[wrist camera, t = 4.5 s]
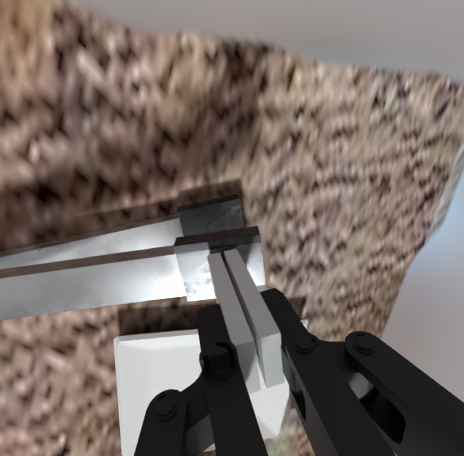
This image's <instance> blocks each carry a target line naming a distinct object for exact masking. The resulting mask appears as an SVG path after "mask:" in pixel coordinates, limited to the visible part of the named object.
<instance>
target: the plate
mask: <svg viewBox="0 0 464 456" xmlns="http://www.w3.org/2000/svg"><path fill="white" fill-rule="evenodd" d="M300 320H301V322H302V323H303V325H304V326H305V328H306V327H307V323H308V321H307V320H306V319H300ZM114 352H115V366H116V379H117V393H118V407H119V421H120V434H121V448H122V456H134V453H135V449H136V445H137V442H138V438H139V435H140V431H141V427H142V424H143V420H144V416H145V413H146V410H147V408H148V405H149V403H150V402H151V401H152V399H153V398H154V397H155V396H156V395H158V394H159V393H161V392H162V391H165V390H169V389H175V390H179V391H180V392H181V391H182V390H184V389H185V388H187V387H188V386H190V385H191V384H192V383H194V382H195V381H196V379H197V378H198V377H199V375H200V373H201V371H202V370H201V366H200V362H199V354H200V352H201V349H200V342H199V335H198V329H197V328H191V329H180V330H169V331H158V332H147V333H135V334H124V335H119V336H117V337H116V338H114ZM257 365H258V363H257ZM258 372H259V379H260V386H261V390H260V391H257V392H254V393H251V394H249V396H250V400H251V403H252V406H253V409H254V412H255V416H256V419H257V422H258V425H259V428H260V431H261V435H262V438H263V440H264V439H268V438H273V437H276V436H277V435H279V432H280V428H281V424H282V420H283V416H284V412H285V409H286V405H287V401H288V397H289V384H288V382H287V380H286V378H285V375H284V380H285V383H282V384H279V385H276V386H272V387H269V388H266V385H265V382H264V379H263V377H262V374H261V371H260V369H259V366H258ZM211 450H215V444H212V445H211V446H210V447H209V448H207V449H206V450H205V451H204V452H206V451H211Z"/></svg>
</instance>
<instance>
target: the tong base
mask: <svg viewBox="0 0 464 456" xmlns="http://www.w3.org/2000/svg"><path fill="white" fill-rule="evenodd" d="M177 211H178V213H176V214H171V215H167V216H162V217H158V218H153V219H148V220H144V221H139V222H134V223H130V224H125V225H121V226H116V227H111V228H107V229H102V230H98V231H93V232H88V233H84V234H79V235H75V236H70V237H65V238H61V239H56V240H52V241H47V242H42V243H38V244H33V245H28V246H24V247H19V248H15V249H10V250H5V251H1V252H0V269H6V268H14V267H21V266H28V265H35V264H42V263H49V262H56V261H64V260H71V259H78V258H85V257H92V256H99V255H107V254H114V253H121V252H128V251H135V250H142V249H149V248H157V247H164V246H171V245H174V243H175V240H176V237H182V236H190V235H197V234H204V233H211V232H218V231H225V230H232V229H239V228H244V221H243V213H242V206H241V199H240V197H239V196H238V195H232V196H227V197H223V198H218V199H213V200H209V201H204V202H199V203H194V204H190V205H185V206H180V207H177Z"/></svg>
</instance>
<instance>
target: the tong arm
mask: <svg viewBox="0 0 464 456" xmlns="http://www.w3.org/2000/svg"><path fill="white" fill-rule="evenodd" d="M232 249H237V250H238V252H239V254H240V256H241V258H242V260H243V262H244V264H245V266H246V267H247V269H248V271H249V273H250V275H251V277H252V279H253V281H254V283H255V285H256V287H257V289H258V290H259V292H262V291H266V285H265V276H264V267H263V257H262V248H261V239H260V233H259V229H258V226H254V227H246V228H239V229H232V230H225V231H218V232H211V233H204V234H197V235H190V236H182V237H176V240H175V243H174V245H171V246H164V247H157V248H149V249H142V250H135V251H128V252H121V253H114V254H107V255H99V256H92V257H85V258H78V259H71V260H64V261H56V262H49V263H42V264H35V265H28V266H21V267H14V268H6V269H0V320H6V319H13V318H21V317H28V316H36V315H43V314H50V313H58V312H65V311H73V310H80V309H88V308H95V307H103V306H110V305H118V304H125V303H133V302H140V301H148V300H155V299H163V298H170V297H178V296H185V295H186V297H187V301H188V302H189V301H196V300H204V299H212V298H216V297H215V293H214V288H213V284H212V279H211V274H210V269H209V264H208V260H207V255H211V254H216V253H220V254H221V257H222V260H223V262H224V265H225V267H226V261H225V256H224V251H228V250H232ZM226 270H227V267H226Z"/></svg>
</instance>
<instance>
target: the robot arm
mask: <svg viewBox="0 0 464 456" xmlns="http://www.w3.org/2000/svg"><path fill="white" fill-rule="evenodd" d="M224 256H225V261H226V267H227V270H226V267H225V265H224V262H223V260H222V257H221V254H220V253H216V254H211V255H207V260H208V264H209V269H210V274H211V279H212V284H213V288H214V293H215V297H216V301H217V304H216V305H212V306H208V307H205V308H201V309H199V310H198V313H197V316H196V322H197V329H198V335H199V342H200V349H201V352H200V354H199V362H200V366H201V370H202V371H201V373H200V375H199V377H198V378H197V379H196V381H195V382H194V383H192V384H191V385H190V386H188V387H187V388H185V389H184V390H182V391H181V392H180V391H179V390H175V389H169V390H165V391H162V392H161V393H159V394H158V395H156V396H155V397H154V398H153V399H152V401H151V402H150V403H149V405H148V408H147V410H146V413H145V416H144V420H143V424H142V427H141V431H140V435H139V438H138V442H137V445H136V449H135V453H134V456H202V452H204V451H205V450H206V449H207V448H209V447H210V446H211V445H212V444H215V450H216V456H268V454H267V450H266V447H265V444H264V441H263V438H262V435H261V431H260V428H259V425H258V422H257V419H256V416H255V412H254V409H253V406H252V403H251V400H250V396H249V394H251V393H254V392H257V391H260V390H261V386H260V379H259V372H258V366H259V369H260V371H261V374H262V377H263V379H264V382H265V385H266V388H269V387H272V386H276V385H279V384H282V383H285V380H284V375H285V378H286V380H287V382H288V384H289V394H290V404H291V409H292V408H294V406H295V408H296V410H297V413H298V415H299V417H300V420H301V422H302V424H303V427H304V429H305V432H306V434H307V436H308V439H309V441H310V443H311V446H312V448H313V450H314V453H315V455H316V456H396V455H397V456H464V402H462V401H461V400H459V399H458V398H457V397H455V396H454V395H453V394H452V393H450V392H449V391H448V390H446V389H445V388H444V387H442V386H441V385H440V384H438V383H437V382H436V381H434V380H433V379H432V378H430V377H429V376H428V375H427V374H425V373H424V372H422V371H421V370H420V369H418V368H417V367H416V366H414V365H413V364H412V363H410V362H409V361H408V360H407V359H405V358H404V357H403V356H401V355H400V354H399V353H397V352H396V351H395V350H393V349H392V348H391V347H390V346H388V345H387V344H386V343H384V342H383V341H382V340H380V339H379V338H378V337H376V336H374V335H372V334H371V333H367V332H363V331H355V332H352V333H350V334H349V335H348V336H346V338H345V342H329V341H323V340H319V339H318V338H317V337H316V336H314V335H312V334H311V333H309V332H308V331H307V329H306V328H305V326H304V325H303V323H302V322H301V320H300V319H299V317H298V316H297V314H296V313H295V311H294V309H293V308H292V306H291V305H290V303H289V302H288V300H287V299H286V297H285V296H284V294H283V293H282V292H280V291H279V290H277V289H276V288H273V289H270V290H266V291H262V292H259V290H258V289H257V287H256V285H255V283H254V281H253V279H252V277H251V275H250V273H249V271H248V269H247V267H246V266H245V264H244V262H243V260H242V258H241V256H240V254H239V252H238V250H237V249H232V250H228V251H224ZM257 363H258V365H257ZM394 453H395V454H396V455H395V454H394Z"/></svg>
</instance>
